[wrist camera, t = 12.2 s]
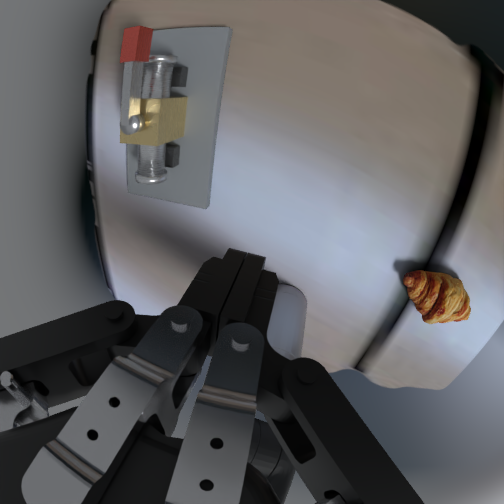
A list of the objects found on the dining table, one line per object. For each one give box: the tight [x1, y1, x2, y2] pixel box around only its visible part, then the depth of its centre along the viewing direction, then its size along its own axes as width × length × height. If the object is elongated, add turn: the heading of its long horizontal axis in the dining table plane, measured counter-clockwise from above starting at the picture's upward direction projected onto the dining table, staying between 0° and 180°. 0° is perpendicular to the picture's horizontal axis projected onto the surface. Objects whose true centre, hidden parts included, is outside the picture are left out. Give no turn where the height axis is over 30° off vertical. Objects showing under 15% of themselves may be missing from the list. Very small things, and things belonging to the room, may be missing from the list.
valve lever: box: [120, 26, 153, 135], centre depth 24 cm, size 14×3×3 cm, turn 172°
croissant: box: [403, 270, 471, 324], centre depth 39 cm, size 21×10×8 cm, turn 68°
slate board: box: [127, 27, 232, 209], centre depth 35 cm, size 28×15×2 cm, turn 171°
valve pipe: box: [120, 55, 188, 185], centre depth 31 cm, size 18×6×8 cm, turn 171°
